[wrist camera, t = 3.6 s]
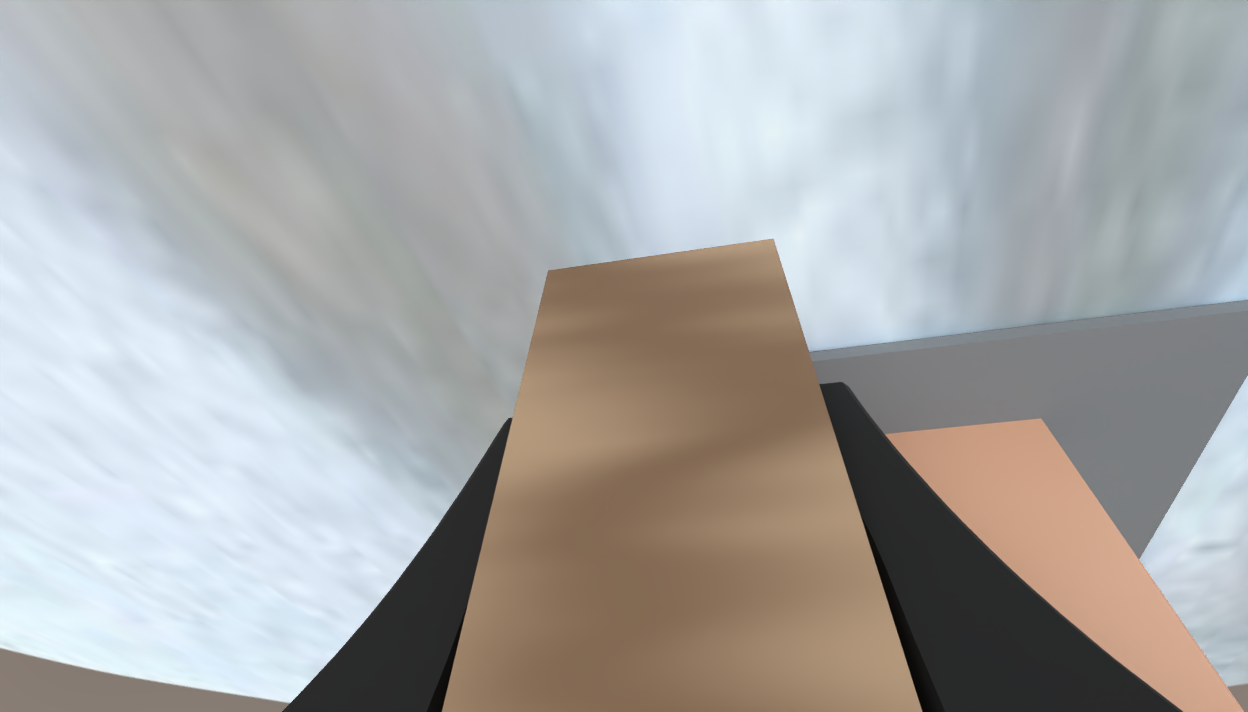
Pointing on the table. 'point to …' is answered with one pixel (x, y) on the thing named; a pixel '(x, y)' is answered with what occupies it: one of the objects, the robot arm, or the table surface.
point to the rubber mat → (1072, 394)
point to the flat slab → (1064, 548)
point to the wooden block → (675, 510)
